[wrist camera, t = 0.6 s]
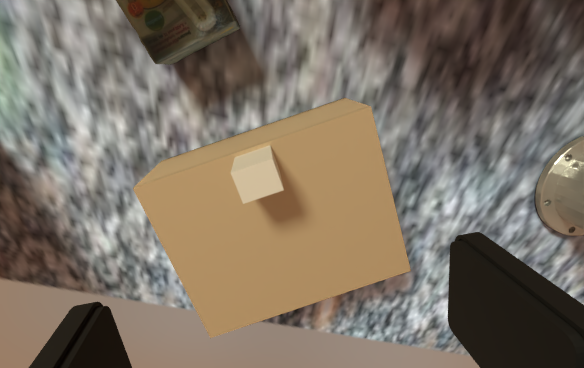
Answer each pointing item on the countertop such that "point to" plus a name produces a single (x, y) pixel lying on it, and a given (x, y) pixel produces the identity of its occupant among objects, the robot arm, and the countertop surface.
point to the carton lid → (280, 222)
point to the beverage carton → (178, 25)
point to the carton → (252, 137)
